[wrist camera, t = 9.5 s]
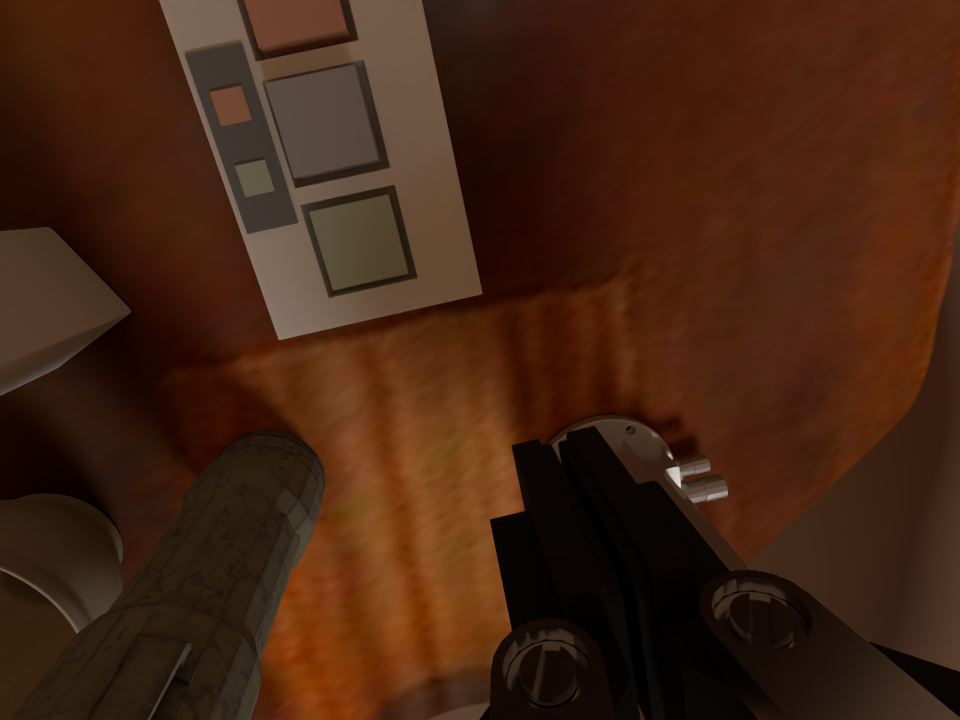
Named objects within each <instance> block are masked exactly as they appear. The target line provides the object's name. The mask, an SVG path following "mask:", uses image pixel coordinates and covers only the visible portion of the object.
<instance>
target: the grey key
mask: <svg viewBox="0 0 960 720" xmlns="http://www.w3.org/2000/svg"><path fill="white" fill-rule="evenodd" d="M265 85H266V88H267V92H268V95H269V98H270V101H271V105H272V108H273V111H274V114H275V118H276V121H277V124H278V127H279V131H280V134H281V137H282V140H283V144H284V147H285V150H286V153H287V157H288V160H289V163H290V166H291V170H292V173H293V176H294V178H302V179H305V178H309V177H314V176H318V175H323V174H328V173H332V172H337V171H342V170H346V169H351V168H355V167H360V166H365V165H369V164H374V163H379V162H381V158H380V154H379V150H378V146H377V142H376V138H375V134H374V130H373V126H372V122H371V118H370V114H369V110H368V106H367V102H366V98H365V94H364V90H363V86H362V82H361V78H360V75H359V73H358V71H357V69H356V67H355V65H350V66H345V67H340V68H335V69H331V70H326V71H321V72H316V73H312V74H307V75H302V76H297V77H292V78H288V79H283V80H278V81H273V82H269V83H265Z"/></svg>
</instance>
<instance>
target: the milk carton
mask: <svg viewBox="0 0 960 720" xmlns="http://www.w3.org/2000/svg"><path fill="white" fill-rule="evenodd" d="M130 313H131V310H130V308H129V307H128V306H127V305H126V304H125V303H124V302H123V301H122V300H121V299H120V298H119V297H118V296H117V295H116V294H115V293H114V292H113V291H112V290H111V289H110V288H109V287H108V286H107V284H106V283H105V282H104V281H103V280H102V279H101V278H100V277H99V276H98V275H97V274H96V273H95V272H94V271H93V270H92V269H91V268H90V267H89V266H88V265H87V264H86V263H85V262H84V261H83V260H82V259H81V258H80V257H79V256H78V255H77V254H76V253H75V252H74V251H73V250H72V249H71V248H70V246H69V245H68V244H67V243H66V242H65V241H64V240H63V239H62V238H61V237H60V236H59V235H58V234H57V233H56V232H55V231H54V230H53V229H51V228H49V227H41V228H30V229H20V230H9V231H0V396H1V395H3V394H5V393H7V392H9V391H11V390H13V389H15V388H18V387H20V386H22V385H24V384H26V383H28V382H30V381H32V380H34V379H36V378H38V377H40V376H42V375H44V374H47V373H49V372H51V371H53V370H55V369H57V368H58V367H60V366H61V365H62V364H64V363H65V362H66V361H68V360H69V359H70V358H72V357H73V356H74V355H76V354H77V353H78V352H80V351H81V350H82V349H84V348H85V347H86V346H88V345H89V344H90V343H92V342H93V341H94V340H95V339H97V338H98V337H99V336H101V335H102V334H103V333H105V332H106V331H107V330H109V329H110V328H111V327H113V326H114V325H115V324H117V323H118V322H119V321H121V320H122V319H123V318H125V317H126V316H127V315H129V314H130Z"/></svg>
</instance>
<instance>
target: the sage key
mask: <svg viewBox="0 0 960 720" xmlns="http://www.w3.org/2000/svg"><path fill="white" fill-rule="evenodd" d="M309 214H310V217H311V220H312V224H313V227H314V230H315V233H316V237H317V240H318V243H319V246H320V250H321V253H322V256H323V260H324V263H325V266H326V269H327V273H328V276H329V279H330V282H331V286H332V289H333V290H337V289H341V288H346V287H350V286H355V285H359V284H364V283H368V282H373V281H377V280H382V279H386V278H390V277H395V276H399V275H404V274H408V273H409V265H408V261H407V257H406V253H405V249H404V245H403V241H402V237H401V233H400V229H399V225H398V221H397V217H396V213H395V209H394V205H393V201H392V197H391V194H389V195H384V196H379V197H375V198H370V199H366V200H361V201H357V202H352V203H347V204H343V205H338V206H334V207H329V208H325V209H320V210H315V211H311V212H309Z"/></svg>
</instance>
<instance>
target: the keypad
mask: <svg viewBox="0 0 960 720" xmlns="http://www.w3.org/2000/svg"><path fill="white" fill-rule="evenodd" d="M159 1H160V4H161V7H162V10H163V13H164V16H165V18H166V21H167V24H168V27H169V30H170V33H171V35H172V38H173V41H174V44H175V47H176V50H177V52H178V55H179V58H180V61H181V64H182V67H183V69H184V72H185V75H186V78H187V81H188V84H189V86H190V89H191V92H192V95H193V98H194V101H195V103H196V106H197V109H198V112H199V115H200V118H201V121H202V123H203V126H204V129H205V132H206V135H207V138H208V140H209V143H210V146H211V149H212V152H213V155H214V157H215V160H216V163H217V166H218V169H219V172H220V174H221V177H222V180H223V183H224V186H225V189H226V191H227V194H228V197H229V200H230V203H231V206H232V208H233V211H234V214H235V217H236V220H237V223H238V225H239V228H240V231H241V234H242V237H243V240H244V242H245V245H246V248H247V251H248V254H249V257H250V259H251V262H252V265H253V268H254V271H255V274H256V276H257V279H258V282H259V285H260V288H261V291H262V294H263V296H264V299H265V302H266V305H267V308H268V311H269V313H270V316H271V319H272V322H273V325H274V328H275V330H276V333H277V336H278V339H279V340H282V339H286V338H291V337H295V336H300V335H304V334H308V333H313V332H317V331H322V330H326V329H330V328H335V327H339V326H344V325H348V324H353V323H357V322H361V321H366V320H370V319H375V318H379V317H383V316H388V315H392V314H397V313H401V312H406V311H410V310H414V309H419V308H423V307H428V306H432V305H436V304H441V303H445V302H450V301H454V300H459V299H463V298H467V297H472V296H476V295H481V294H482V289H481V284H480V279H479V274H478V270H477V265H476V260H475V255H474V250H473V245H472V241H471V236H470V231H469V226H468V221H467V217H466V212H465V207H464V202H463V197H462V192H461V188H460V183H459V178H458V173H457V168H456V164H455V159H454V154H453V149H452V144H451V139H450V135H449V130H448V125H447V120H446V115H445V111H444V106H443V101H442V96H441V91H440V86H439V82H438V77H437V72H436V67H435V62H434V58H433V53H432V48H431V43H430V38H429V33H428V29H427V24H426V19H425V14H424V9H423V5H422V0H342V2H343V6H344V10H345V14H346V18H347V22H348V26H349V30H350V34H351V38H352V42H348V43H343V44H339V45H334V46H329V47H324V48H319V49H314V50H310V51H305V52H300V53H295V54H290V55H286V56H281V57H276V58H270V57H269V56H267V55H266V54H265V53H264V52H263V51H262V50H261V49H259V47H258V44H257V40H256V37H255V34H254V31H253V27H252V24H251V21H250V18H249V14H248V11H247V8H246V4H245V1H244V0H159ZM350 65H355V67H356V69H357V71H358V73H359V75H360V78H361V82H362V86H363V90H364V94H365V98H366V102H367V106H368V110H369V114H370V118H371V122H372V126H373V130H374V134H375V138H376V142H377V146H378V150H379V154H380V158H381V162H379V163H374V164H369V165H365V166H360V167H355V168H351V169H346V170H342V171H337V172H332V173H328V174H323V175H318V176H314V177H309V178H305V179H302V178H294V176H293V173H292V170H291V166H290V163H289V160H288V157H287V153H286V150H285V147H284V144H283V140H282V137H281V134H280V131H279V127H278V124H277V121H276V118H275V114H274V111H273V108H272V105H271V101H270V98H269V95H268V92H267V88H266V85H265V83H269V82H273V81H278V80H283V79H288V78H292V77H297V76H302V75H307V74H312V73H316V72H321V71H326V70H331V69H335V68H340V67H345V66H350ZM389 194H391V197H392V201H393V205H394V209H395V213H396V217H397V221H398V225H399V229H400V233H401V237H402V241H403V245H404V249H405V253H406V257H407V261H408V265H409V273H408V274H404V275H399V276H395V277H390V278H386V279H382V280H377V281H373V282H368V283H364V284H359V285H355V286H350V287H346V288H341V289H337V290H333V289H332V286H331V282H330V279H329V276H328V273H327V269H326V266H325V263H324V260H323V256H322V253H321V250H320V246H319V243H318V240H317V237H316V233H315V230H314V227H313V224H312V220H311V217H310V214H309V212H311V211H315V210H320V209H325V208H329V207H334V206H338V205H343V204H347V203H352V202H357V201H361V200H366V199H370V198H375V197H379V196H384V195H389Z"/></svg>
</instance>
